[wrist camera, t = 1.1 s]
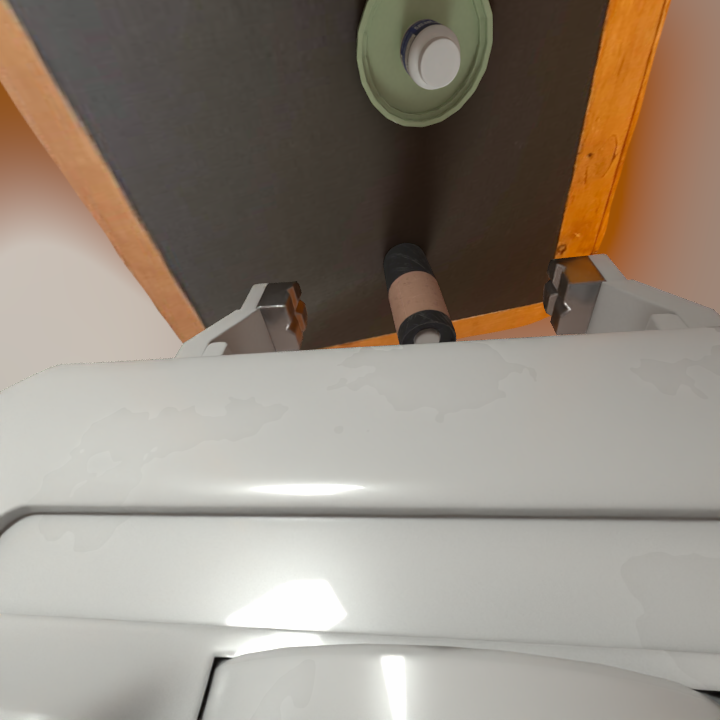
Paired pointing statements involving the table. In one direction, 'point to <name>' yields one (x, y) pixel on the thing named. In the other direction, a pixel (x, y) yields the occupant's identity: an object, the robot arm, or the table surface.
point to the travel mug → (416, 297)
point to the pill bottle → (430, 54)
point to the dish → (386, 73)
